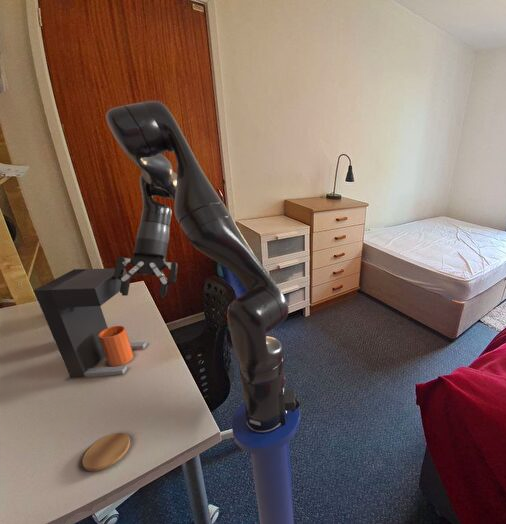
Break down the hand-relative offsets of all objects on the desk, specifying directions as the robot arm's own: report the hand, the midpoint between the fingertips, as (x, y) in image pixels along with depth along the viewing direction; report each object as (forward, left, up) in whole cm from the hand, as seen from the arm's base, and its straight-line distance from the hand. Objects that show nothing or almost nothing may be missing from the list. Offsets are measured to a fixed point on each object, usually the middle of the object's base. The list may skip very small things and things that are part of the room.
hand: (143, 296), depth 78 cm
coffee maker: (+13, 0, -21) cm, 25 cm away
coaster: (-3, +30, -21) cm, 37 cm away
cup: (+11, 0, -21) cm, 24 cm away
